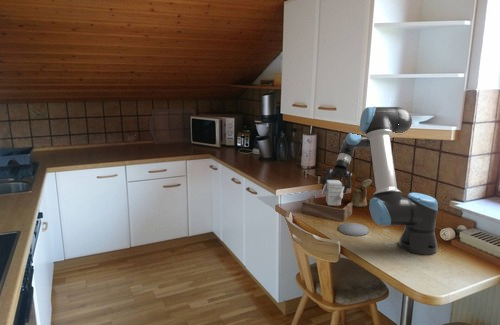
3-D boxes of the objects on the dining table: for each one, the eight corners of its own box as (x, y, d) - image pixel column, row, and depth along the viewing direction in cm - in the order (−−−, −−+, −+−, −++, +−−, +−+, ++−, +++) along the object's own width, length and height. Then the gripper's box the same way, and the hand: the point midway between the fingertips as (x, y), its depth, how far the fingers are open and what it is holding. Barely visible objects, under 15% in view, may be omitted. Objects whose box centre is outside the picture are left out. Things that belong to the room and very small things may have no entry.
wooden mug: (359, 210, 207) (361, 178, 203) (348, 202, 220) (349, 172, 216) (373, 209, 209) (376, 178, 205) (361, 201, 222) (364, 172, 218)
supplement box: (325, 201, 212) (326, 179, 210) (338, 201, 212) (339, 179, 209) (327, 205, 205) (328, 183, 202) (341, 205, 205) (342, 183, 202)
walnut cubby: (312, 205, 214) (312, 195, 212) (351, 213, 202) (352, 203, 200) (301, 212, 202) (302, 202, 201) (343, 221, 190) (344, 210, 189)
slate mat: (370, 227, 183) (370, 225, 183) (367, 238, 171) (367, 236, 170) (341, 222, 188) (341, 221, 188) (336, 233, 176) (336, 231, 176)
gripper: (363, 169, 212) (352, 203, 202) (325, 164, 223) (314, 196, 214) (361, 161, 206) (350, 196, 196) (322, 157, 218) (310, 189, 208)
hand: (331, 196), depth 205 cm, fingers closed on supplement box, 10 cm apart
